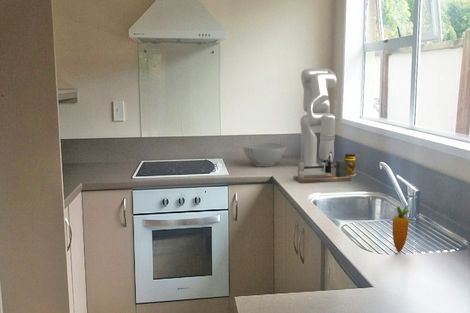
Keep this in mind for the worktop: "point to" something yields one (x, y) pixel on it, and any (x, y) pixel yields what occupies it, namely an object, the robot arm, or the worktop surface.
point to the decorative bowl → (264, 153)
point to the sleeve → (323, 165)
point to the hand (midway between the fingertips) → (326, 171)
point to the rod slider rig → (336, 177)
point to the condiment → (350, 164)
